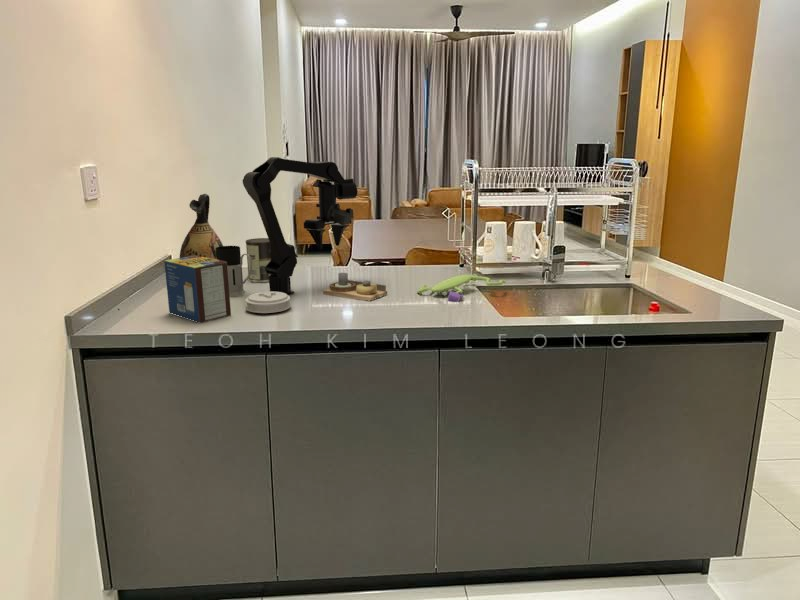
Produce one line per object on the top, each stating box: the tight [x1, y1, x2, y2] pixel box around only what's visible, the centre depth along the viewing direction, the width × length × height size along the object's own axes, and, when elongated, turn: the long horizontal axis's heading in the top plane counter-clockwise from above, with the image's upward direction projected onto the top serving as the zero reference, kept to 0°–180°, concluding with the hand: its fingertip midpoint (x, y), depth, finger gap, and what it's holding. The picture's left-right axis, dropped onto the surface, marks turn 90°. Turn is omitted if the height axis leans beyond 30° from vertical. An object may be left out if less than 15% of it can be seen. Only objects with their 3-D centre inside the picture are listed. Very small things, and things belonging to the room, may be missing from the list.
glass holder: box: [216, 245, 252, 298], centre depth 192 cm, size 9×14×15 cm, turn 59°
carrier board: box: [322, 279, 388, 302], centre depth 194 cm, size 10×18×5 cm, turn 59°
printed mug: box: [245, 237, 271, 283], centre depth 214 cm, size 10×10×14 cm
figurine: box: [416, 273, 506, 302], centre depth 196 cm, size 18×27×6 cm
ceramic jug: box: [179, 193, 224, 259], centre depth 212 cm, size 17×15×30 cm
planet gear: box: [335, 272, 351, 287], centre depth 196 cm, size 5×5×5 cm
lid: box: [245, 290, 291, 314], centre depth 176 cm, size 13×13×5 cm
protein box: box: [163, 256, 232, 323], centre depth 170 cm, size 10×15×16 cm
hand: (328, 247), depth 204 cm, fingers open, 9 cm apart
